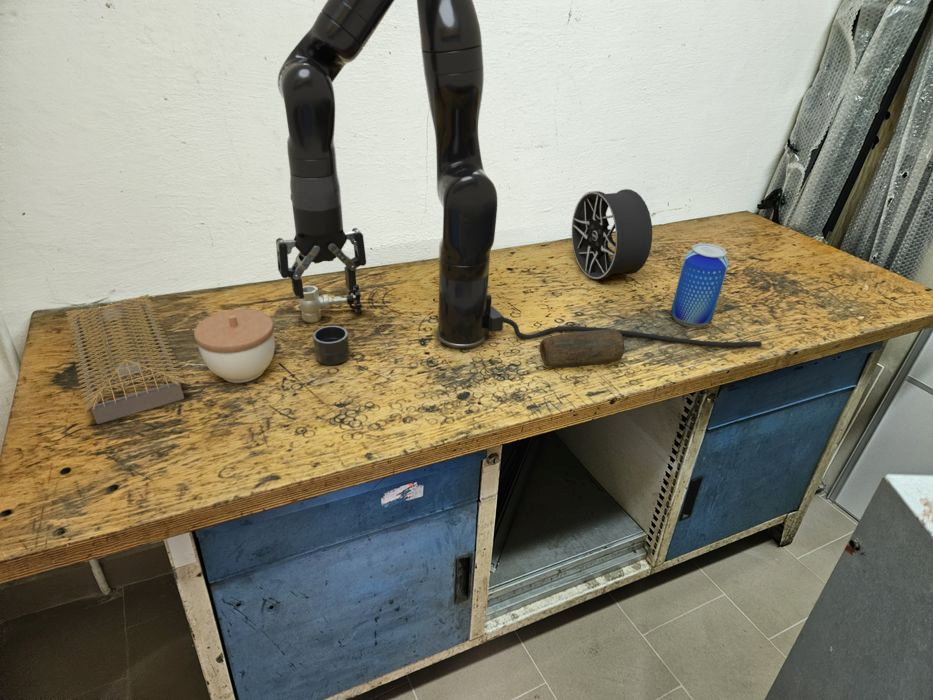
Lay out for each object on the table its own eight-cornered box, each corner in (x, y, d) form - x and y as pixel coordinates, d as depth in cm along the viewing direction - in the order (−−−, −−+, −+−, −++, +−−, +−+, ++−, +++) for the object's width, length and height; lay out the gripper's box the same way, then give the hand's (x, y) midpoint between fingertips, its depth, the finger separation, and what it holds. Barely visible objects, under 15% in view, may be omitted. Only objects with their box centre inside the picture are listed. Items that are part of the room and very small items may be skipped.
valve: (302, 327, 117) (363, 320, 120) (298, 298, 113) (360, 291, 116) (300, 311, 122) (358, 305, 125) (296, 283, 119) (356, 277, 122)
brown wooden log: (606, 348, 114) (612, 319, 111) (623, 368, 109) (630, 338, 105) (534, 357, 111) (537, 327, 107) (548, 378, 105) (552, 347, 101)
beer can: (712, 315, 127) (733, 246, 119) (708, 333, 121) (730, 261, 112) (672, 306, 130) (690, 238, 121) (666, 323, 124) (684, 252, 115)
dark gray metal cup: (344, 345, 112) (341, 323, 109) (353, 362, 107) (351, 338, 105) (312, 352, 109) (309, 329, 107) (320, 369, 105) (317, 346, 102)
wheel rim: (567, 258, 150) (577, 180, 139) (598, 254, 153) (611, 177, 142) (608, 293, 134) (624, 208, 123) (642, 288, 137) (660, 205, 126)
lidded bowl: (188, 381, 101) (173, 325, 95) (238, 345, 111) (227, 293, 105) (248, 400, 97) (236, 343, 91) (294, 361, 107) (287, 308, 101)
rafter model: (191, 399, 96) (183, 368, 93) (91, 429, 90) (78, 397, 86) (152, 309, 121) (144, 282, 117) (71, 327, 114) (60, 299, 110)
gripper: (275, 213, 87) (288, 310, 96) (367, 202, 92) (372, 294, 101) (265, 198, 92) (278, 290, 101) (353, 188, 98) (358, 277, 107)
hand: (325, 292), depth 101 cm, fingers open, 8 cm apart
